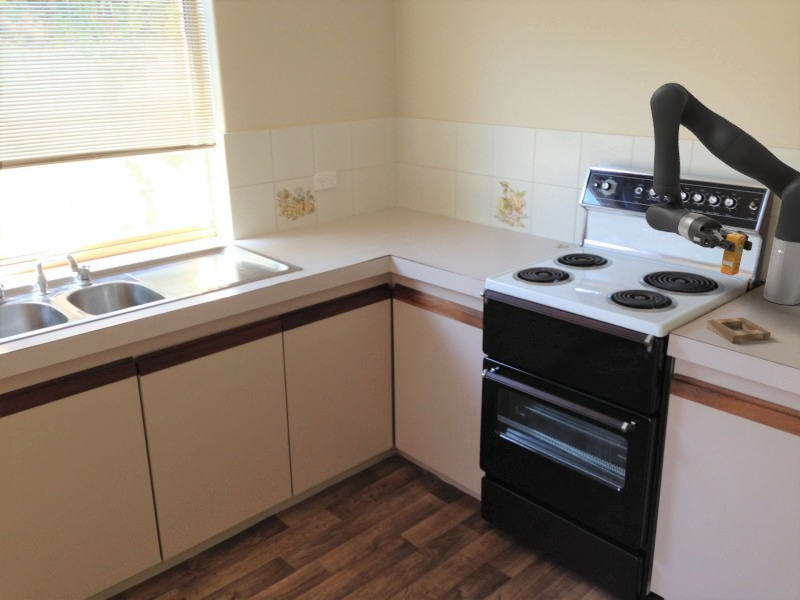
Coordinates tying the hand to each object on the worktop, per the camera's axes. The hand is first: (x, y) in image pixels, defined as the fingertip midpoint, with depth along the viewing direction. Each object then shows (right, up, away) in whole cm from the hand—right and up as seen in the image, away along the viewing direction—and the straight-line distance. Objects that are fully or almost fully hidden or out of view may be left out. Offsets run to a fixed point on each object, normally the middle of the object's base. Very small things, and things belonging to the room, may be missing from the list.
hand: (742, 247), depth 176 cm
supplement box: (-1, -6, +5) cm, 8 cm away
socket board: (-1, -21, 0) cm, 21 cm away
